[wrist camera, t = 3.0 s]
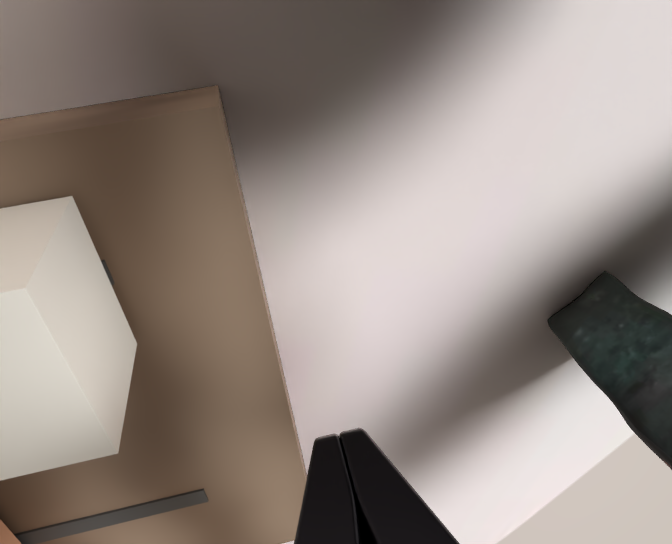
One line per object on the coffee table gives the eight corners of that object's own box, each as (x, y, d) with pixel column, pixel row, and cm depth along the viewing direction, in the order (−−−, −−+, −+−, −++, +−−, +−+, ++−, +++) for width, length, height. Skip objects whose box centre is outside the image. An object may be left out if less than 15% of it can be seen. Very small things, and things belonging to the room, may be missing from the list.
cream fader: (72, 195, 13) (25, 288, 10) (137, 343, 16) (118, 453, 12) (-100, 226, 12) (-210, 333, 9) (-1, 372, 15) (-58, 493, 12)
